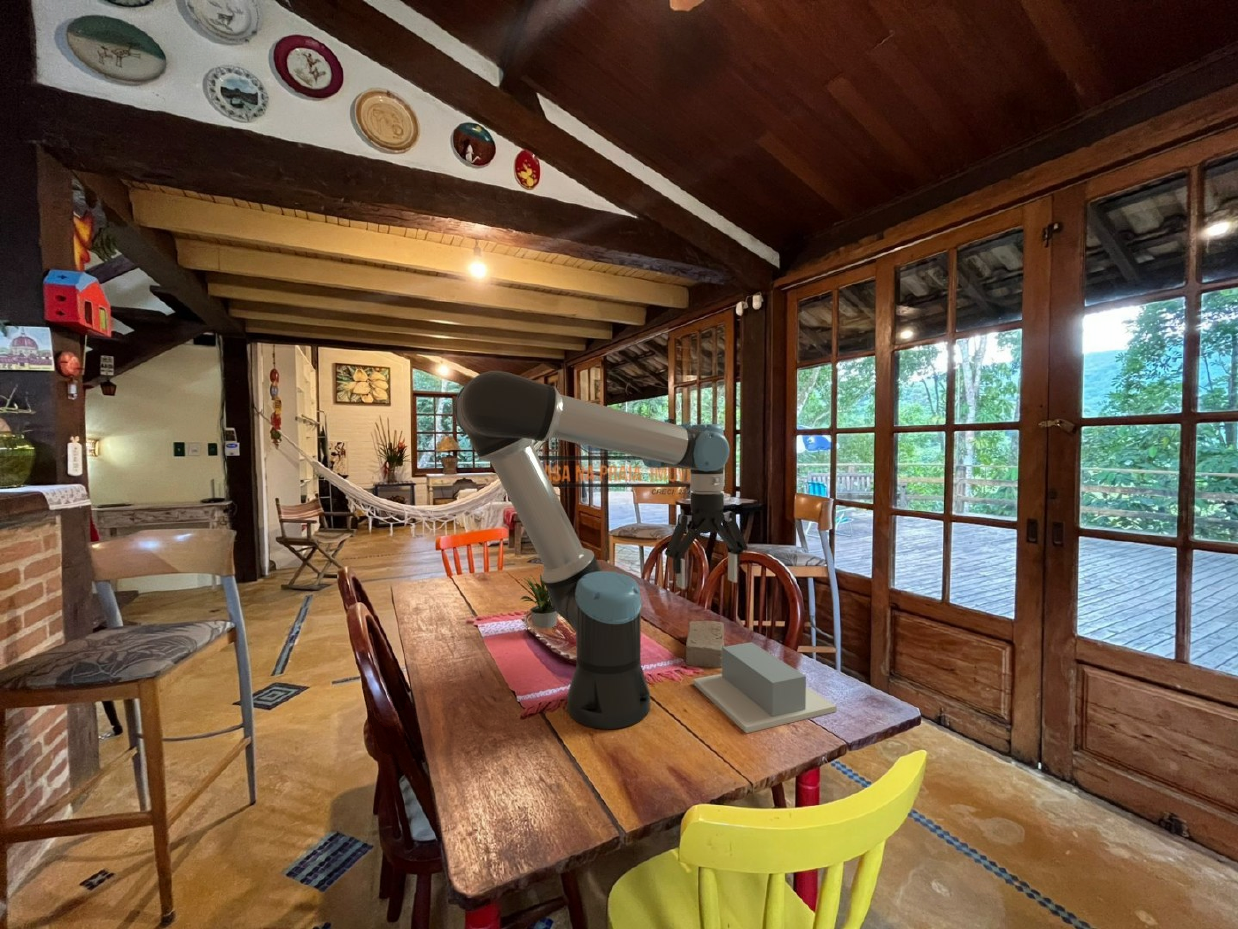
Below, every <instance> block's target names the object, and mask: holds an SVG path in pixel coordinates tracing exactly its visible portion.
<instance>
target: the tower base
mask: <svg viewBox="0 0 1238 929" xmlns="http://www.w3.org/2000/svg"><path fill="white" fill-rule="evenodd" d="M692 680H693V681H692V684H693V685H694V686H695V687H696V688H697V689H698V690H699V691H700V692H701V693H702V694H703V695H704V696H706V697H707V698H708V699H709V701H711V702H712V703H713V704H714V705H715V706H716V707H717V708H718V709H719V710H720V711H721V712H723V713H724V715H726V716H727V717H728V718H729V719H730V720H731V721H733V723H735V725H737V726H738V727H739V728H740V729H741V730H742V731H743V732H745V734H749V733H753V732H757V731H761V730H765V729H770V728H774V727H777V726H782V725H786V724H790V723H794V722H799V721H803V720H807V719H811V718H814V717H820V716H823V715H827V714H832V713H836V712H837V707H838V706H837V705H836V704H834V703H833V702H831V701H830V700H828V699H826V698H825V697H824V696H822V695H821V694H819V693H817V692H816V691H814V690H813V689H811V688H810V687H808V686H807V676H806V675H805V674H803V673H801V672H800V671H799V670H797V669H795V668H794V667H792V666H790V665H789V664H787V663H786V662H784V661H782V659H779V658H778V657H776V656H775V655H773V654H771V652H770V653H769V652H768V651H766V650H765V649H764V648H761V647H760V646H759V645H757V644H756V643H754V642H752V641H751V642H746V643H738V644H733V645H726V646H724V647H722V668H721V673H719V674H713V675H708V676H703V677H697V678H693V679H692Z"/></svg>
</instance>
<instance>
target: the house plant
mask: <svg viewBox="0 0 1238 929" xmlns="http://www.w3.org/2000/svg"><path fill="white" fill-rule="evenodd" d="M529 576H530V577H532V579H533V580H534V583H533V581H531V579H530V578H529V577H527V576H525V577H523V579H524V580H525V581H524V583H525V584H526V585H527V586H528V588H527V589H530V591H531V592H532V593H533V595H534V597H535V600H534V599H533V598H532V597H530V596H528V595H524V596H522V597H521V598H520V600H519V601H521V600H523V601H522V603H523V602H533V603H534V604H535V605H534V606H532V607H531V608H530V610H529V611H530V616H531V617H530V618H531V623H532V627H533V626H536V627H539V628H546V629H547V628H552V627H554V626H556V627H557V624H558V617H559V614H558V613H557V612H556V611H555V609H554V608H553V606H552V604H551V601H550V598H549V592H548V590H547V588H546V586H545V584H544V582H543V580H542V574H541V573H540V574H539V578H540V580H539V581H540V584H539V583H538V582H537V581H536V578H535V577H534V576H532V575H530V574H529ZM517 580H519V581H521V579H520V578H517Z"/></svg>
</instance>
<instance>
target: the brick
mask: <svg viewBox="0 0 1238 929" xmlns="http://www.w3.org/2000/svg"><path fill="white" fill-rule="evenodd" d="M724 640H725V624H724V623H723V622H721V621H716V620H713V621H712V620H708V621H707V620H697V621H694V620H690V621H689V623H688V633H687V637H686V644H685V650H686V651H685V664H687V665H689V666H694V667H703V668H704V667H707V668H713V669H722V647H725V641H724Z"/></svg>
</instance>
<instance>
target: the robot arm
mask: <svg viewBox="0 0 1238 929" xmlns="http://www.w3.org/2000/svg"><path fill="white" fill-rule="evenodd" d="M454 415H455V417H454V418H455V420H456V423H457V424H458V427H459V428H460V429H461V430H462V431H463V433H465V434H466V435H467V437H468V439H469V441H470V443H471V445H472V446H473V448H474V450H475V452H476V455H477V457H478V458H479V459H480V460H484V461H486V462H489V463H490V464H491V465H492V468H493V469H494V471H495V474H496V475H497V478H498V480H499V481H500V484H501V485H502V487H503V489H504V491H505V493H506V494H507V497H508V499H509V502H511V505H512V507H513V509H514V510H515V512H516V514H517V516H518V518H519V520H520V522H521V525H522V527H523V528H524V530H525V532H526V534H527V536H528V537H529V540H530V541H531V544H532V546H533V547H534V549H535V552H536V554H537V556H538V558H539V560H540V561H541V563H542V565H543V567H544V569H543V572H542V574H541V576H542V580H543V582H544V584H545V589H546V588H547V589H546V590H548V592H549V598H550V601H551V605H552V606H553V608H554V609H555V611H556V612H557V613H558V616H560V617H561V618H562V619H564V620H565V622H566V623H567V624H568V625H569V626H570V627H571V628H572V629H573V630H574V632H575V633H576V667H575V669H574V673H573V676H572V679H571V681H570V682H571V683H570V686H569V688H568V693H567V695H566V696H567V697H566V700H567V702H566V703H567V705H566V707H567V712H568V714H569V716H570V717H571V719H573V720H574V721H576V722H577V723H578V724H581V725H584V726H586V727H590V728H593V729H600V730H601V729H602V730H604V729H605V730H612V729H613V730H614V729H621V728H626V727H629V726H633V725H635V724H637V723H639V722H641V721H642V720H643V719H645V718H646V717H647V716H648V714H649V713H650V711H651V692H650V690H649V687H648V684H647V683H648V682H647V680H646V678H645V674H644V671H643V668H642V663H641V652H642V651H641V650H642V649H641V648H642V647H641V639H642V638H641V636H642V635H641V634H642V632H641V630H642V627H641V624H642V623H641V621H642V617H641V616H642V615H641V614H642V613H641V612H642V599H641V592H640V591H641V590H640V586H639V583H637V581H636V580H635V579H634V578H632V577H630V576H629V575H627V574H624V573H618V572H616V571H611V570H610V571H609V570H607V571H606V570H602V567H601V566H600V563H599V562H598V559H597V557H596V555H595V553H594V551H593V550H591V549H589V548H585V547H584V546H583V545H582V543H581V541H580V539H579V537H578V535H577V533H576V531H575V528H573V525H572V523H571V520H570V519H569V517H568V515H567V513H566V510H565V509H564V507H563V504H562V503H561V501H560V498H559V497H558V495H557V493H556V490H555V488H554V486H553V484H552V482H551V480H550V477H549V476H548V473H547V472H546V470H545V468H544V466H543V463H542V462H541V460H540V457H539V456H538V454H537V452H536V449H535V448H534V445H533V441H539V442H545V441H547V439H550V438H552V439H556V440H562V441H564V442H565V441H566V442H569V443H575V444H579V445H584V446H589V447H592V448H598V449H602V450H607V451H609V452H610V451H611V452H615V453H620V454H625V455H629V456H632V457H633V456H634V457H637V458H638V457H639V458H641V461H642V463H643V464H644V465H645V467H648V468H650V469H651V468H652V469H653V468H654V469H655V468H656V469H661V468H664V469H666V468H670V469H682V470H690V475H689V476H690V478H689V479H690V480H689V481H690V482H689V483H690V484H689V485H690V486H689V487H690V488H689V490H690V491H692V492H691V493H690V496H689V497H690V499H689V500H690V515H685V514H683V513H679V514H678V515H677V522H676V526H675V527H674V530H673V532H672V535H671V537H670V540H669V542H668V543H667V547H666V549H665V551H664V555H665V556H667V557H669V558H672V571H673V573H674V574H676V578H675V579H676V580H675V581H676V582H675V583H676V587H678V588H680V589H681V590H686V559H684V558H683V557H684V555H685V554H686V553H687V551H688V550H689V548H691V546H692V544H693V543H694V541H695V540H696V538H697V537H699V536H700V535H701V534H704V535H705V534H709V533H711V534H714V533H715V534H717V535H718V536H719V537H720V539H721V541H723V542H724V544H725V545H726V546H727V547H728V549H729V550H730V551H731V552H727V581H730V582H732V583H738V568H740V563H741V559H740V558H741V557H740V556H741V555H742V554H743V553H744V551H747V550H748V544H747V543H746V540H745V539H744V536H743V534H742V532H741V529H740V527H739V524H738V522H737V516H736V512H734V511H730V510H726V511H725V512H724V507H725V506H724V505H725V502H724V500H725V499H724V498H725V496H724V495H725V494H724V493H723V491H724V488H725V487H724V486H725V484H724V483H725V482H724V478H725V477H724V472H725V470H724V469H725V468H724V467H725V466H726V463H728V461H729V457H730V444H729V441H728V440H727V437H725V435H724V428H723V426H722V425H720V424H714V423H713V424H712V423H711V424H709V423H708V424H706V423H705V424H704V423H702V424H701V423H700V424H698V423H697V424H692V425H691V426H690V427H686V426H681V425H678V424H674V423H671V422H667V421H663V420H659V419H655V418H650V417H648V416H643V415H639V414H636V413H633V412H628V411H625V410H621V409H617V408H613V407H609V406H606V405H602V404H598V403H595V402H590V401H586V400H582V399H579V398H575V397H571V396H567V395H564V394H561V393H559V391H558V389H557V387H556V386H553V385H550V384H547V383H542V382H539V381H536V380H532V379H530V378H527V377H524V376H521V375H517V374H514V373H511V372H506V371H502V370H488V371H485V372H482V373H479V374H478V375H476V376H475V377H474V378H472V379H471V380H470V381H469V382H467V383H466V384H465V385H463V387H462V388H461V389H460V391H459V392H458V394H457V396H456V398H455V402H454ZM724 520H725V522H726V524H727V527H728V528H729V532H730V534H731V535H730V534H729V533H728V532H727V529H726V528H725V527H724V526H723V524H722V523H723V522H724ZM690 523H691V525H690V526H689V527H688V525H689V524H690ZM687 527H688V530H687V532H686V529H687ZM685 532H686V534H685ZM684 534H685V535H684ZM683 536H684V537H683Z"/></svg>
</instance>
